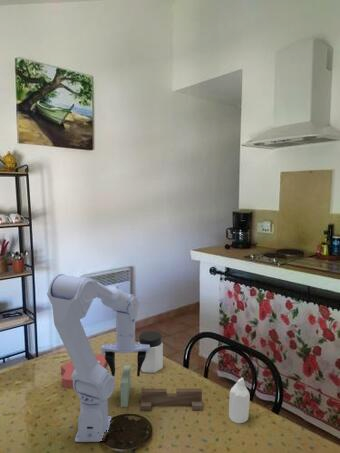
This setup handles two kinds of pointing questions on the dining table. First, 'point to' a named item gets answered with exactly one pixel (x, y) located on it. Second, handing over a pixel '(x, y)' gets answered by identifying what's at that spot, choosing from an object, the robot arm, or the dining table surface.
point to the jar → (152, 351)
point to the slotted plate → (125, 386)
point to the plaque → (69, 368)
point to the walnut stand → (171, 398)
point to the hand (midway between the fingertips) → (126, 374)
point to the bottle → (239, 402)
